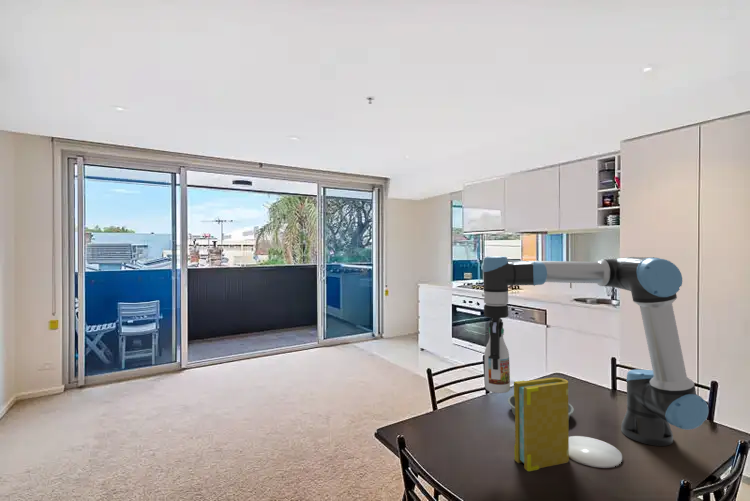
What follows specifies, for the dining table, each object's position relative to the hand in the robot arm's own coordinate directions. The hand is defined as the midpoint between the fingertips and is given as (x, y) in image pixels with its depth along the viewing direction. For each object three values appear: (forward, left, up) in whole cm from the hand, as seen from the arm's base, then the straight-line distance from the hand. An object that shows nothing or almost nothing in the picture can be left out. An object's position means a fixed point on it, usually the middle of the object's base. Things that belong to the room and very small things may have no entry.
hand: (497, 374), depth 126 cm
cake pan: (-13, -40, -27) cm, 50 cm away
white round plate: (-28, -14, -27) cm, 41 cm away
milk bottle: (0, 0, -5) cm, 5 cm away
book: (-14, -3, -27) cm, 30 cm away
